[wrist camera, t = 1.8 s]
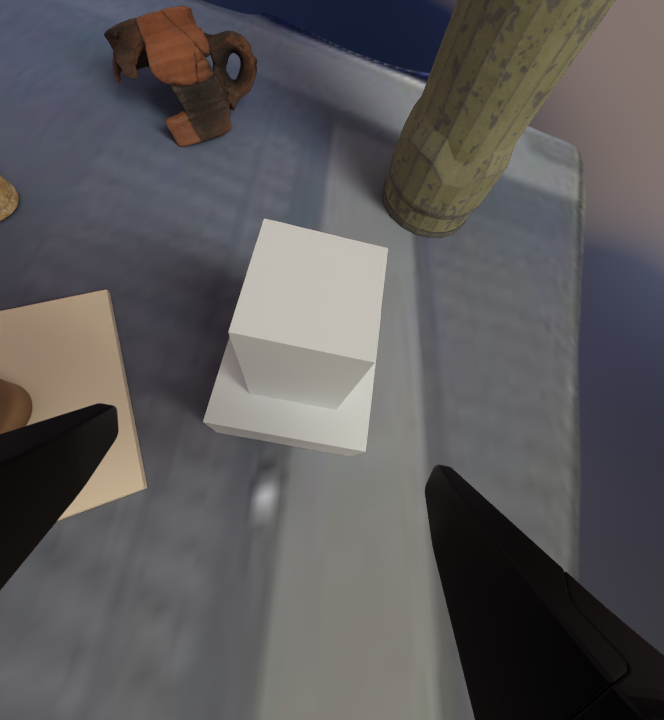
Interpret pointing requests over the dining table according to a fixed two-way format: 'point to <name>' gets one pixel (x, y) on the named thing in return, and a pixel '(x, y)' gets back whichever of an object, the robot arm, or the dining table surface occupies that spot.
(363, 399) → the cover
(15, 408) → the puck
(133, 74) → the pottery mug
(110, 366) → the mat
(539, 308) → the dining table surface
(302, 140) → the dining table surface
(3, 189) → the sprinkles bottle
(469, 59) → the thermos
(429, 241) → the dining table surface
